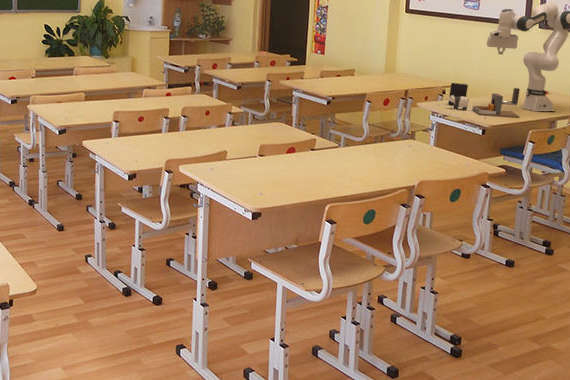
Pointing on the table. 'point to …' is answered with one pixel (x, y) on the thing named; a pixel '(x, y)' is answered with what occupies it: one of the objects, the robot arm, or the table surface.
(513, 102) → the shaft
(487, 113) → the dark grey stand
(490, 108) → the collar
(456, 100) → the giant panda
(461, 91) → the calculator
